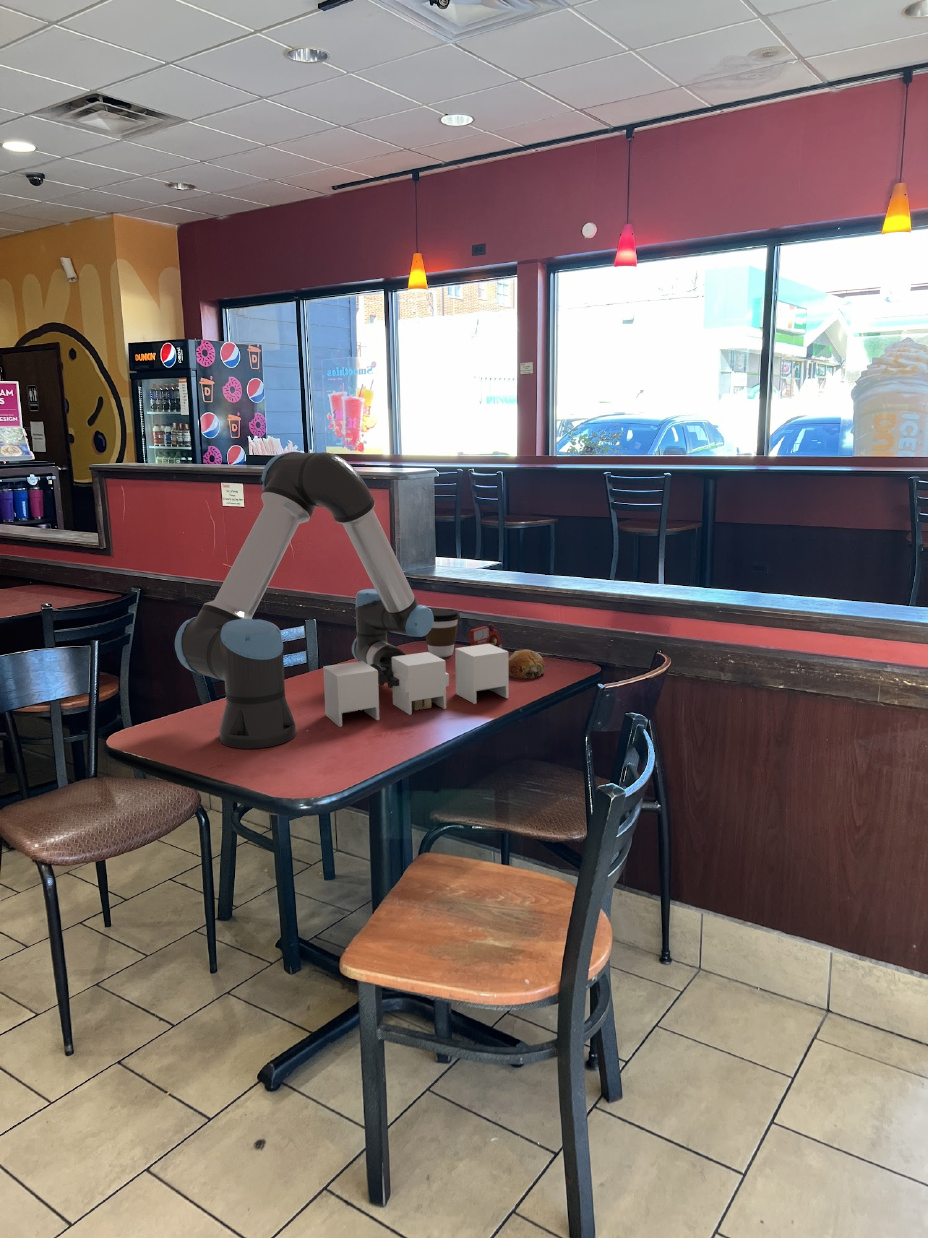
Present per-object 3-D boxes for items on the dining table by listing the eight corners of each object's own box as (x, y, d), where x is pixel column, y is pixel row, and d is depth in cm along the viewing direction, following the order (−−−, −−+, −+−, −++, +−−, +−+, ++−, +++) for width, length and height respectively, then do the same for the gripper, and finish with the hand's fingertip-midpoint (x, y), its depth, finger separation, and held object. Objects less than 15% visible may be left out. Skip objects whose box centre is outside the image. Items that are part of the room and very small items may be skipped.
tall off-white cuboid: (409, 714, 193) (407, 665, 191) (393, 704, 201) (391, 656, 199) (446, 708, 197) (445, 660, 195) (428, 698, 205) (427, 651, 203)
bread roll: (544, 684, 228) (545, 653, 230) (544, 677, 218) (545, 645, 220) (506, 683, 229) (506, 653, 231) (504, 677, 219) (505, 645, 221)
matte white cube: (339, 726, 186) (337, 676, 184) (325, 715, 194) (323, 666, 191) (379, 720, 190) (377, 670, 188) (364, 708, 198) (362, 661, 195)
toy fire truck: (510, 661, 237) (510, 623, 235) (481, 671, 228) (481, 631, 226) (490, 657, 242) (490, 620, 239) (461, 666, 232) (460, 628, 230)
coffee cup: (443, 647, 253) (443, 606, 250) (468, 654, 244) (468, 612, 242) (413, 654, 246) (412, 611, 243) (437, 661, 237) (436, 617, 235)
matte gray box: (474, 703, 200) (473, 656, 198) (455, 693, 208) (455, 648, 206) (508, 698, 204) (508, 651, 202) (489, 688, 212) (489, 643, 210)
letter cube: (415, 710, 196) (414, 693, 195) (407, 706, 200) (407, 688, 199) (431, 708, 198) (431, 690, 197) (423, 703, 202) (423, 686, 201)
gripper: (428, 669, 219) (471, 692, 199) (345, 681, 209) (381, 707, 190) (428, 640, 217) (471, 660, 198) (344, 651, 208) (380, 673, 188)
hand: (427, 683), depth 194 cm, fingers closed on tall off-white cuboid, 9 cm apart
